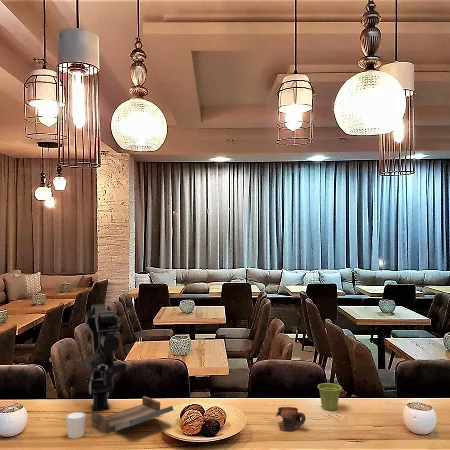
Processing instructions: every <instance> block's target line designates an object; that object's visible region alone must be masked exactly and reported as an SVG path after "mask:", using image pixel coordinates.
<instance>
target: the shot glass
mask: <svg viewBox="0 0 450 450" xmlns="http://www.w3.org/2000/svg"><path fill="white" fill-rule="evenodd" d="M86 415H87V414H86V412H83V411H74V412H70V413H68V414H66V416H65V425H66V432H67V434H66V435H67V437H68V438H69V439H79V438H81V437H83V436H84V435H85V430H86V429H85V428H86V420H87V419H86V417H87V416H86Z"/></svg>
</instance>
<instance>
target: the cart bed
mask: <svg viewBox="0 0 450 450" xmlns="http://www.w3.org/2000/svg"><path fill="white" fill-rule="evenodd" d="M141 400H142V401H141V402H142V403H141V404H139V405H135V406H133V407H130V408H126V409H123V410H121V411H117V412H114V413H111V414H108V415H106V416H104V415H102V414H99V413H98V412H96V411H92V412H91V427H93V428H95V429H96V430H98V431H100V432H102V433H103V434H105V435H108V434H111V433H114V432H116V431H115V427H114V426H117V425H119V424H122V423H125V422H127V421H130V420H132V419H135V418H138V417H141V416H144V415H147V414H150V413H153V412H155V411H158V410H161V402H160V401H158V400H156V399H152V398H151V397H148V396H146V395H144V396H142V399H141ZM156 417H158V416H156ZM156 417H153V418H156ZM153 418H152V419H153ZM140 423H141V422H139V423H138V424H140ZM125 428H127V427H125ZM125 428H122V429H125ZM122 429H121V430H122Z"/></svg>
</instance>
